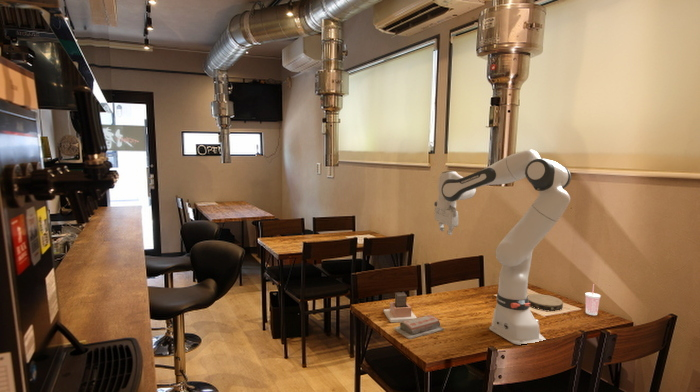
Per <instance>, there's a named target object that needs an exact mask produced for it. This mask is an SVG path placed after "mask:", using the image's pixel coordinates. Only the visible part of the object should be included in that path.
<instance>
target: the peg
mask: <svg viewBox="0 0 700 392" xmlns="http://www.w3.org/2000/svg"><path fill="white" fill-rule="evenodd" d="M407 297H408V295H407V294H406V293H405V292H404V291H403V292H395V294H394V302H395V307H396V308H399V307H406V302H407Z"/></svg>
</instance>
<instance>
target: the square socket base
mask: <svg viewBox="0 0 700 392" xmlns="http://www.w3.org/2000/svg"><path fill="white" fill-rule="evenodd" d="M383 313H384V315H385V316H386V318H387V319H388V321H389V322H390V323H401V322H402V321H406V320H411V319H415V318H418V317H417V316H416V314H415V313H414V312H413V311H412V306H411V305H410V304H409V303H408V302H407V301H406V307H399V308H396V307H395V301H394V302H392V301H391V302H389V308H386V309H385V308H384V309H383Z"/></svg>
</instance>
